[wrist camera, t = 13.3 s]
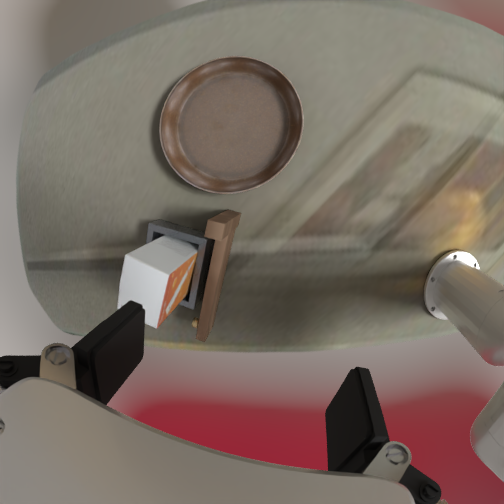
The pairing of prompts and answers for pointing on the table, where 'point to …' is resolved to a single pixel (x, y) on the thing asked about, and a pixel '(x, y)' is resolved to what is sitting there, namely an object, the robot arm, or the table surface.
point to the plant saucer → (231, 124)
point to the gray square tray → (197, 237)
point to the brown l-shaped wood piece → (216, 268)
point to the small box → (158, 276)
